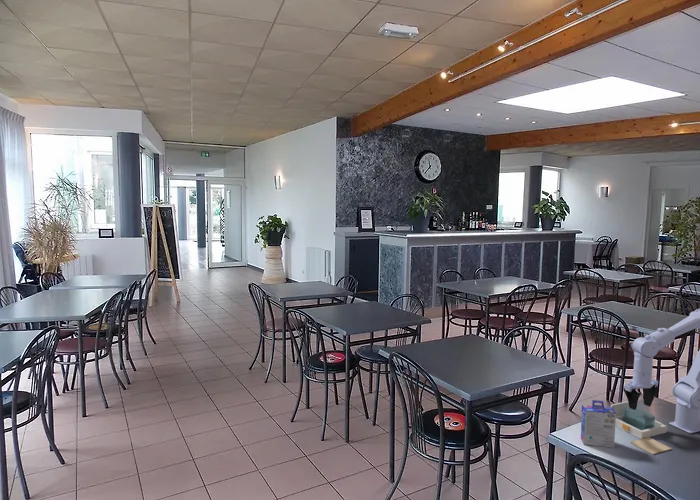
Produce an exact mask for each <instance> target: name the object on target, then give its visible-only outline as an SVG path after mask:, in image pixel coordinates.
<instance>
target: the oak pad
mask: <svg viewBox="0 0 700 500" xmlns="http://www.w3.org/2000/svg"><path fill="white" fill-rule="evenodd" d="M630 444H631V445H633V446H635V447H637V448H638V449H641V450H643V451H645V452H647V453H649V454H650V455H656V454H657V455H658V454H660V453H664V452H667V451H672V449H673V448H672V447H670V446H668V445H666V444H664V443H661V442H660V441H658V440H655V439H654V438H652V437H647V438H644V439H640V438H639V439H638V440H633V441H630Z"/></svg>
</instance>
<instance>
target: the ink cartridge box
mask: <svg viewBox="0 0 700 500" xmlns="http://www.w3.org/2000/svg"><path fill="white" fill-rule="evenodd" d="M591 402H592V405H585V404H584V405H583V404H582V405H581V417H580V418H581V423H580V440H581V442H582V444H583V445H585V446H586V445H587V446H595V447H596V446H597V447H605V448H615V438H616V437H615V436H616V426H615V423H616V413H615V411H614V410H613V409H612V408H611V407H610V406H605V404H604V401H603V400H598V399H597V400H596V399H592V400H591ZM597 403H598V404H597Z"/></svg>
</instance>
